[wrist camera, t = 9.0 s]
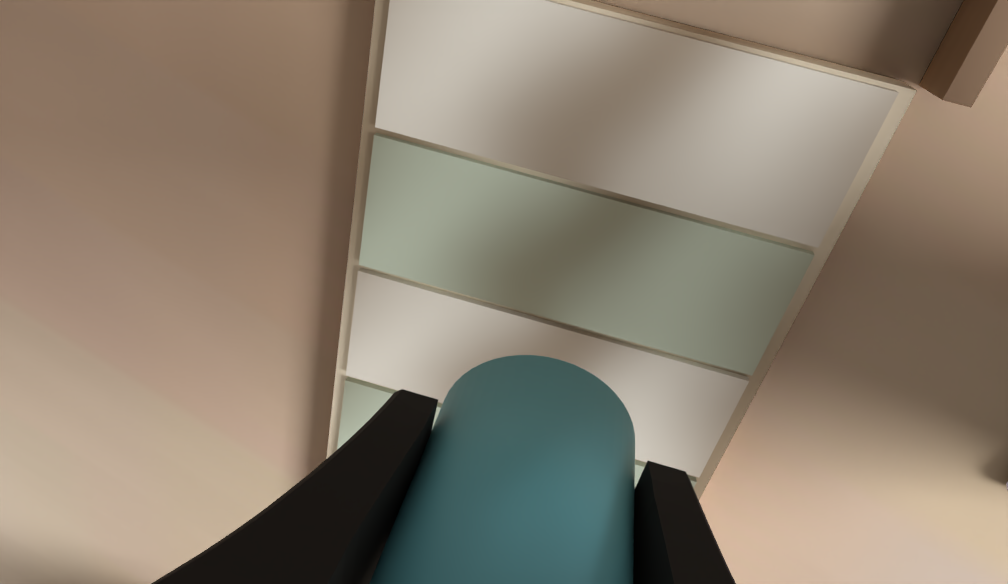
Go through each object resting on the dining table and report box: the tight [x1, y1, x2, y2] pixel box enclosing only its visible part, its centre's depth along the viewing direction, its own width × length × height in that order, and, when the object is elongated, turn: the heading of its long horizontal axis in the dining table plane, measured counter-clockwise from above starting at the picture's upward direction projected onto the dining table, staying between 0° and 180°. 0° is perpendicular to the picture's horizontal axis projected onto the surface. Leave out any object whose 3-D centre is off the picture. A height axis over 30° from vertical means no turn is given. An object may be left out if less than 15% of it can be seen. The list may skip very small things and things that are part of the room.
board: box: [326, 0, 1008, 500], centre depth 17 cm, size 14×31×1 cm, turn 168°
